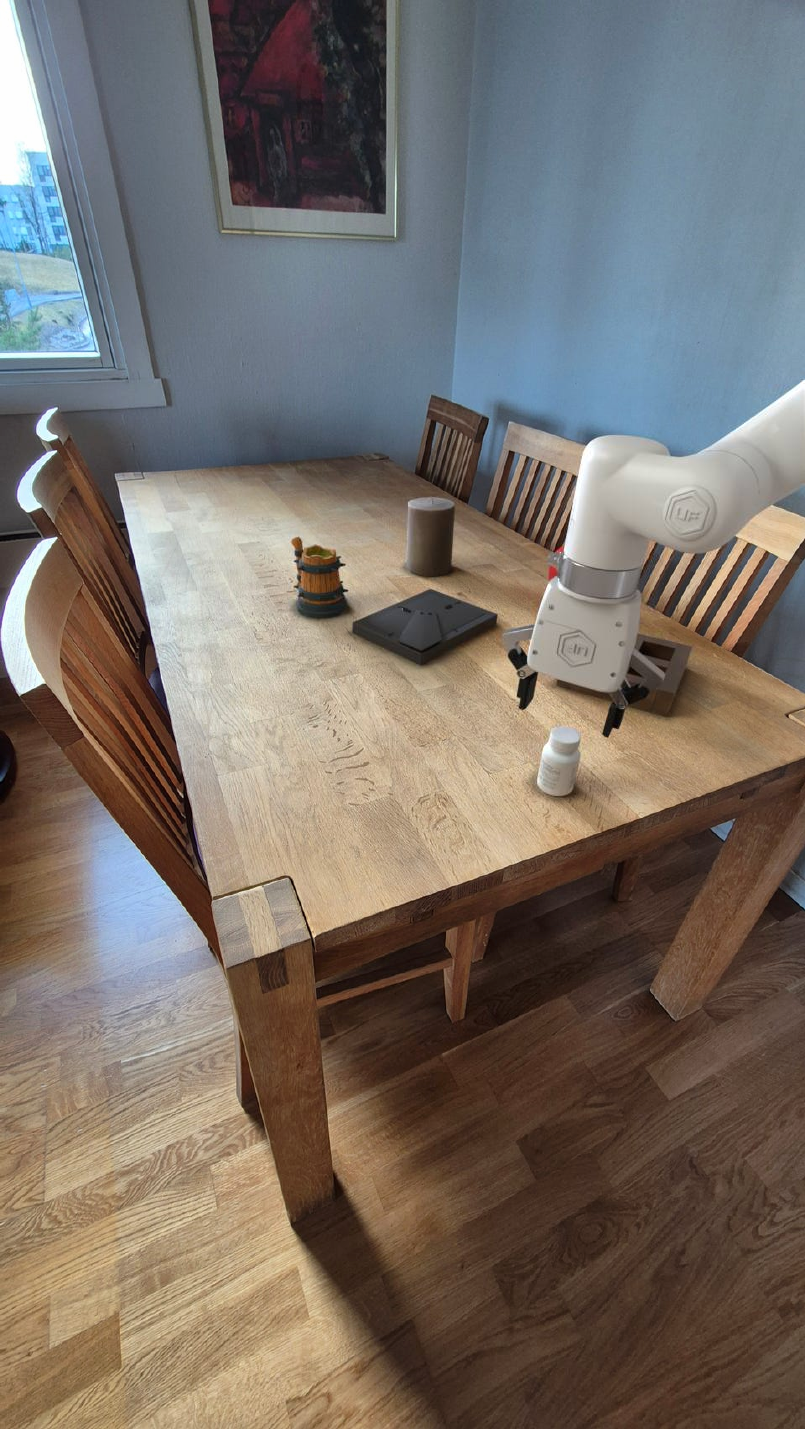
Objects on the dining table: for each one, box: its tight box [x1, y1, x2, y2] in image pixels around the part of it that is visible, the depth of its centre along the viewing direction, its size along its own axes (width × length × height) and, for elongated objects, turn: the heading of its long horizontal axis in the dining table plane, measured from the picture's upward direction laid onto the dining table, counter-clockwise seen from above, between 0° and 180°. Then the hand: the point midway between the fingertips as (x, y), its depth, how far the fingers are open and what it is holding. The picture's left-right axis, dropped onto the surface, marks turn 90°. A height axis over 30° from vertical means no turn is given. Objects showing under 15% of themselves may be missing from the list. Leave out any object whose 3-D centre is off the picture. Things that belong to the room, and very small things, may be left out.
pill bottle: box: [536, 725, 582, 797], centre depth 74 cm, size 4×4×8 cm
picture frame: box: [351, 588, 499, 666], centre depth 110 cm, size 16×3×21 cm
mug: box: [290, 536, 349, 619], centre depth 114 cm, size 13×10×12 cm
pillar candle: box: [405, 496, 456, 577], centre depth 130 cm, size 10×10×15 cm
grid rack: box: [555, 632, 693, 718], centre depth 97 cm, size 16×16×4 cm
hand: (565, 717), depth 71 cm, fingers open, 9 cm apart
